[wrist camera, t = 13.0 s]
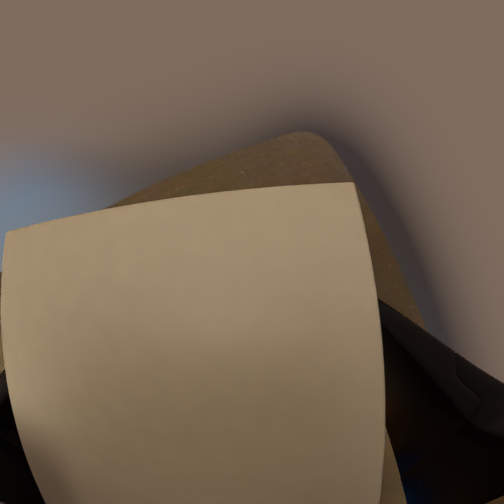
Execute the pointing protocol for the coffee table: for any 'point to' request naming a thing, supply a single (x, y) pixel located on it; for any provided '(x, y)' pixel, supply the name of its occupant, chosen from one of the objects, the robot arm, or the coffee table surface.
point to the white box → (199, 350)
